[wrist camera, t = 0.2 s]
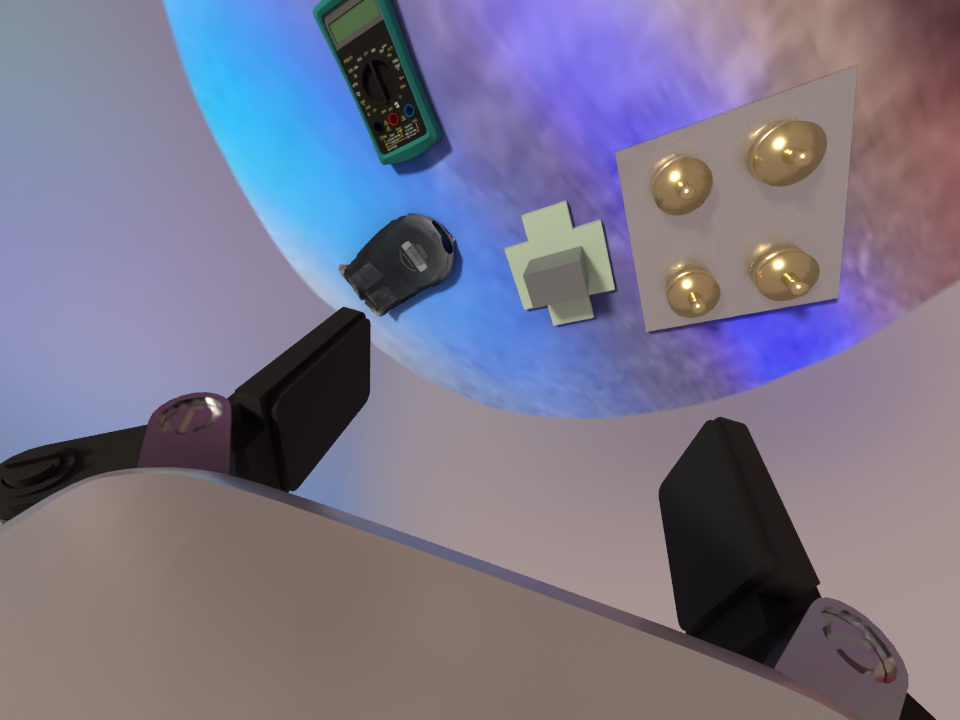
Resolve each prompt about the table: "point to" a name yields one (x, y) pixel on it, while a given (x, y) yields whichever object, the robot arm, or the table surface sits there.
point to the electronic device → (399, 263)
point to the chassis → (742, 206)
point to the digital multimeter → (380, 76)
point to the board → (556, 239)
